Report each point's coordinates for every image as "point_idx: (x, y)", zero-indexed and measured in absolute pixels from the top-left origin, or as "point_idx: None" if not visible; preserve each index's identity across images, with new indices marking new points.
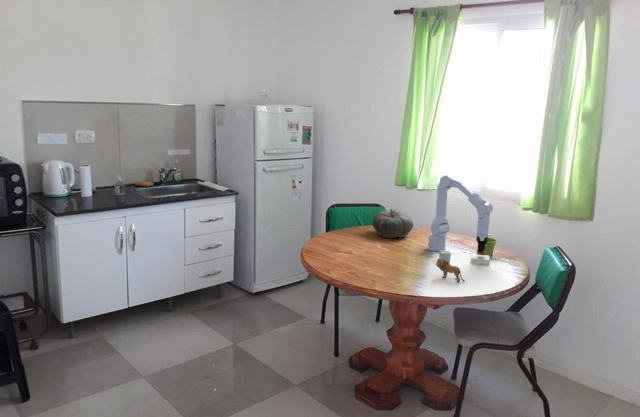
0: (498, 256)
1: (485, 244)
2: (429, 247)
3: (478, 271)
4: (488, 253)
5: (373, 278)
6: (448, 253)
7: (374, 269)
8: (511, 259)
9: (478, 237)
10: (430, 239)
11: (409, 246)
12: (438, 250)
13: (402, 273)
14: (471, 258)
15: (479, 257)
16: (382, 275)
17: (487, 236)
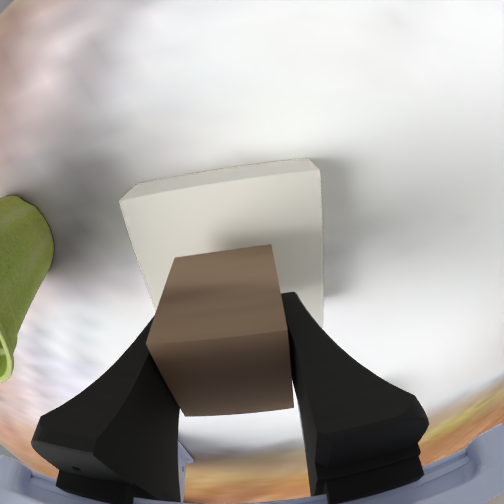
0: (3, 143)
1: (170, 347)
2: (184, 467)
3: (479, 219)
4: (33, 226)
5: (500, 421)
6: None
7: (449, 449)
8: (23, 29)
9: (173, 492)
10: (181, 500)
11: (190, 483)
12: (179, 445)
13: (482, 412)
14: (322, 324)
15: None
16: (488, 423)
17: (54, 449)
